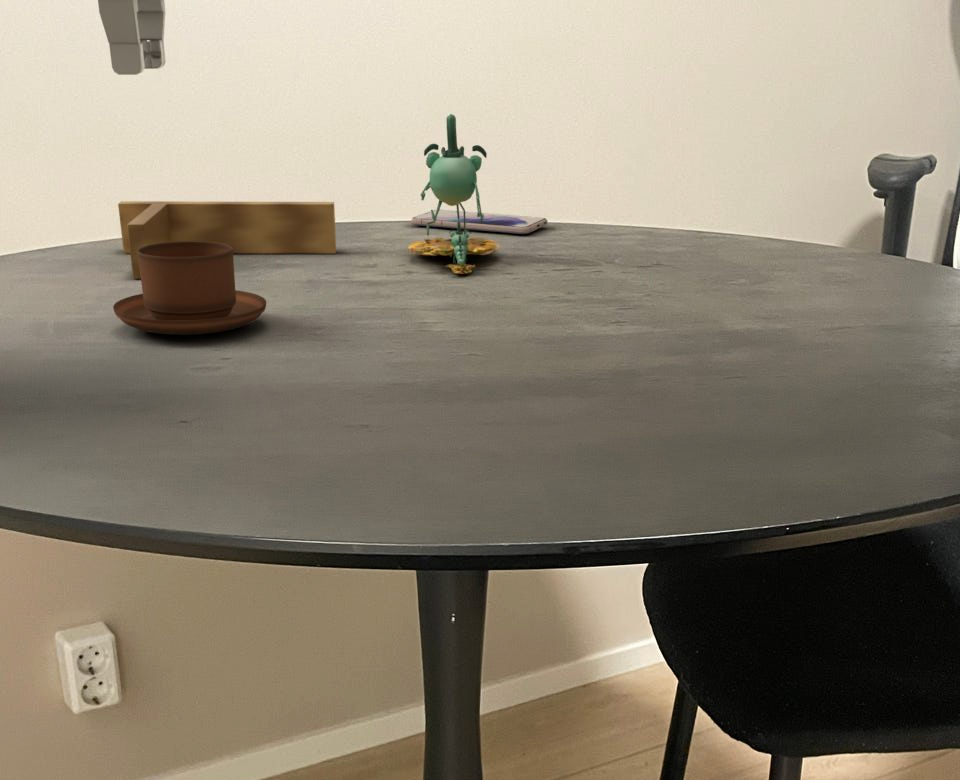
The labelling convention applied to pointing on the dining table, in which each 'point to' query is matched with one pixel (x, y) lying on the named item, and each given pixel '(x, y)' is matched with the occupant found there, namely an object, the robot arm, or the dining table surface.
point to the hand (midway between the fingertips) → (140, 71)
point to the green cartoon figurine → (453, 200)
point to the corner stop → (230, 226)
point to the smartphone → (488, 224)
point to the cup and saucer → (188, 291)
